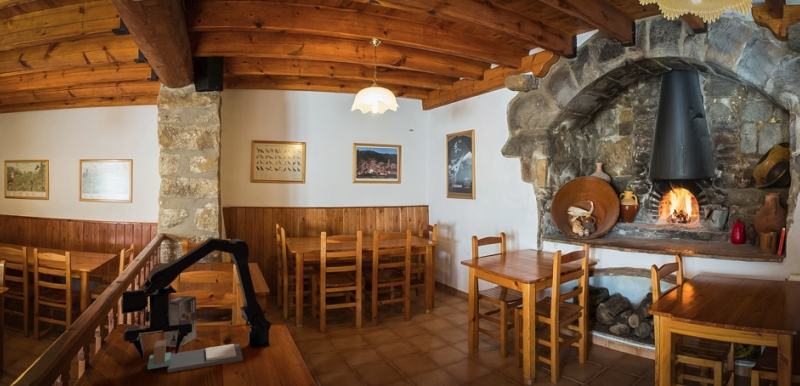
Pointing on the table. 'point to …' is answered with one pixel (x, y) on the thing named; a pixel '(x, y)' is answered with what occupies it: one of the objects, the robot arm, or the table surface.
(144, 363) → the table surface
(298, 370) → the table surface
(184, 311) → the coffee box
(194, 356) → the board
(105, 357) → the table surface
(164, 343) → the stub
